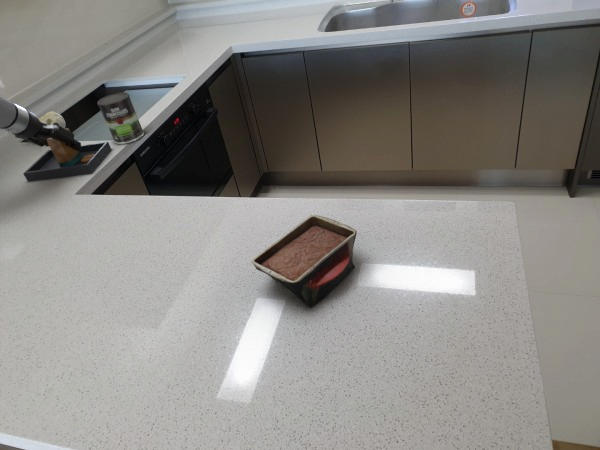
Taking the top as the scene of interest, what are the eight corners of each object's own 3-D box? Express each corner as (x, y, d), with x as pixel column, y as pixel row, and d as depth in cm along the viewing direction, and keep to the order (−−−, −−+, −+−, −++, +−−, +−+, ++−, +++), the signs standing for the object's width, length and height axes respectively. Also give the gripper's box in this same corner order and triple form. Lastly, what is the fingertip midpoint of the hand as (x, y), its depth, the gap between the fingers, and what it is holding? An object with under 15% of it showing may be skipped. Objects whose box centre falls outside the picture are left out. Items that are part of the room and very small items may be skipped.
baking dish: (258, 287, 89) (241, 253, 82) (322, 231, 95) (312, 195, 88) (307, 328, 79) (293, 295, 73) (376, 263, 86) (369, 227, 79)
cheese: (80, 135, 173) (54, 108, 175) (72, 127, 166) (45, 99, 168) (47, 162, 170) (21, 134, 172) (38, 155, 163) (10, 126, 164)
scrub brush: (61, 168, 144) (45, 139, 138) (71, 157, 150) (57, 129, 144) (72, 167, 143) (57, 138, 138) (82, 156, 149) (68, 128, 143)
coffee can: (144, 139, 154) (128, 98, 146) (113, 147, 153) (95, 107, 145) (144, 128, 163) (129, 89, 154) (115, 136, 161) (98, 97, 153)
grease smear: (79, 165, 144) (77, 162, 143) (86, 157, 148) (85, 154, 147) (93, 163, 143) (92, 160, 143) (100, 155, 147) (99, 152, 147)
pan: (27, 181, 142) (22, 173, 141) (52, 157, 155) (48, 149, 153) (91, 173, 139) (87, 164, 137) (111, 149, 152) (108, 141, 150)
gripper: (-11, 138, 125) (48, 162, 148) (46, 130, 123) (97, 155, 146) (-10, 112, 127) (48, 140, 149) (46, 104, 124) (97, 133, 147)
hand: (72, 147), depth 148 cm, fingers closed on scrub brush, 4 cm apart
